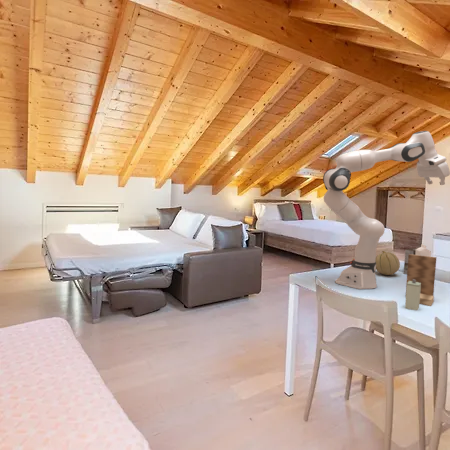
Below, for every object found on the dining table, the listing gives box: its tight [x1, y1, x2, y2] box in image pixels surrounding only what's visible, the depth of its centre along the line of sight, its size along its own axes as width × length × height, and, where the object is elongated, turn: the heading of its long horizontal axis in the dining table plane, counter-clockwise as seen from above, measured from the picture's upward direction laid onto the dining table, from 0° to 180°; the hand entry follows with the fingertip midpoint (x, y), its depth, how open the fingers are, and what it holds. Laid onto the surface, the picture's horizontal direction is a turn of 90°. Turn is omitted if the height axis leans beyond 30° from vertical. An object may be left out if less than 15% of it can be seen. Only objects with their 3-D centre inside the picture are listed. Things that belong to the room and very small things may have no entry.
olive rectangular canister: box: [404, 279, 421, 311], centre depth 161 cm, size 5×5×14 cm
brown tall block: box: [405, 254, 437, 307], centre depth 172 cm, size 12×16×22 cm
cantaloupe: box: [375, 250, 401, 276], centre depth 218 cm, size 15×15×15 cm
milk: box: [415, 243, 432, 257], centre depth 203 cm, size 6×6×22 cm
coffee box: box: [403, 247, 417, 275], centre depth 221 cm, size 9×6×16 cm
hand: (436, 184), depth 184 cm, fingers open, 8 cm apart
